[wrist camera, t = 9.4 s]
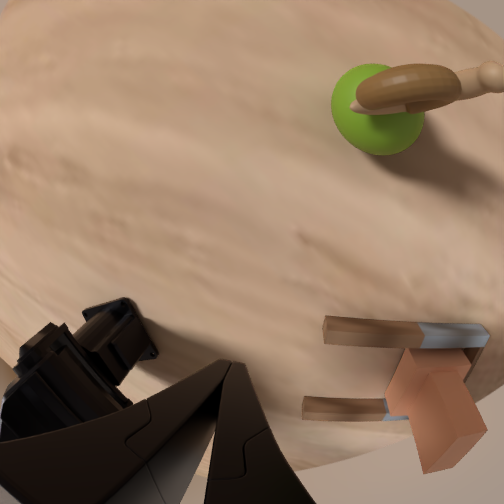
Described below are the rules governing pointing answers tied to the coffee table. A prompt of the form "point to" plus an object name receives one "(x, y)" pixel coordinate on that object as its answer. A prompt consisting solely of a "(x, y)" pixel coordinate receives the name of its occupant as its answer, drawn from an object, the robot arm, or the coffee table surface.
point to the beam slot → (388, 337)
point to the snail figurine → (402, 100)
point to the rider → (436, 405)
